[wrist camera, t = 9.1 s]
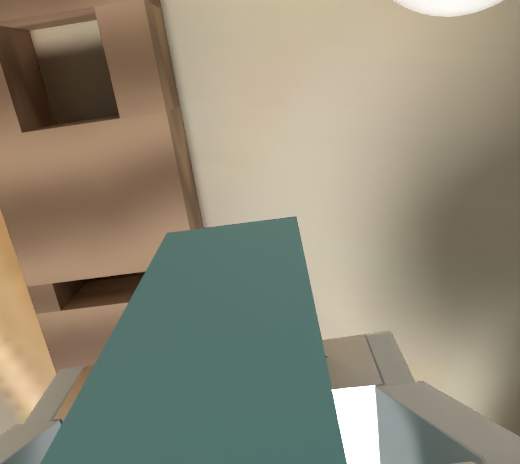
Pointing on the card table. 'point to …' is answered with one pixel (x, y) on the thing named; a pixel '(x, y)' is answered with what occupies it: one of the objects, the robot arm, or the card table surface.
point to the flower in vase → (447, 6)
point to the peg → (211, 360)
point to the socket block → (90, 171)
